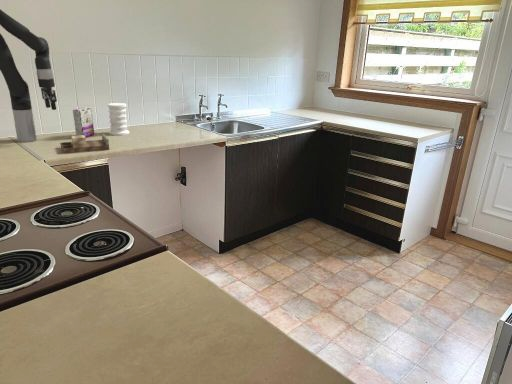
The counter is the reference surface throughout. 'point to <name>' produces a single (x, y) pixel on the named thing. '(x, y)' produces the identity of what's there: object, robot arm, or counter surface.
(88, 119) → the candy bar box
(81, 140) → the maple block
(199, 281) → the counter surface
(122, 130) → the decorative container
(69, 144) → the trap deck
